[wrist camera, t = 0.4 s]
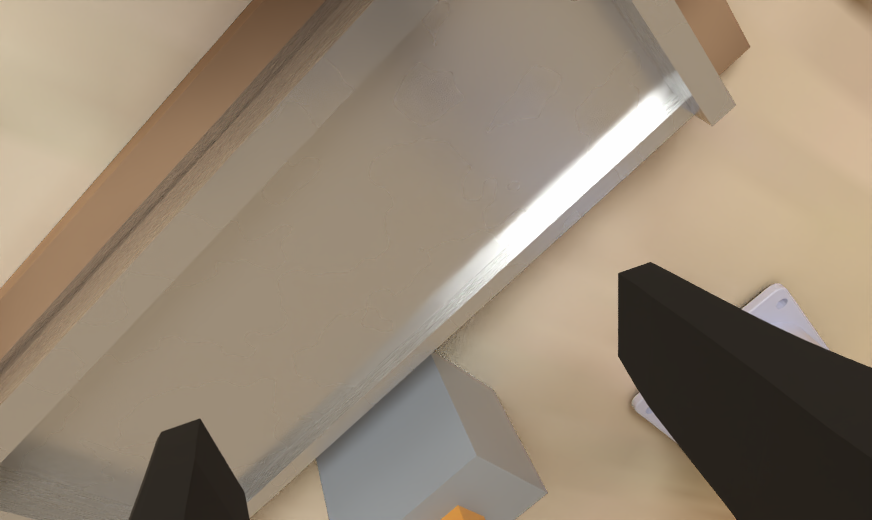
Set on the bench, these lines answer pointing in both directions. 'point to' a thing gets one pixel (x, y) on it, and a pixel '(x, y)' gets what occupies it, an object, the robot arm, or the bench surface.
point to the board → (191, 118)
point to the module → (430, 454)
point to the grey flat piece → (337, 234)
